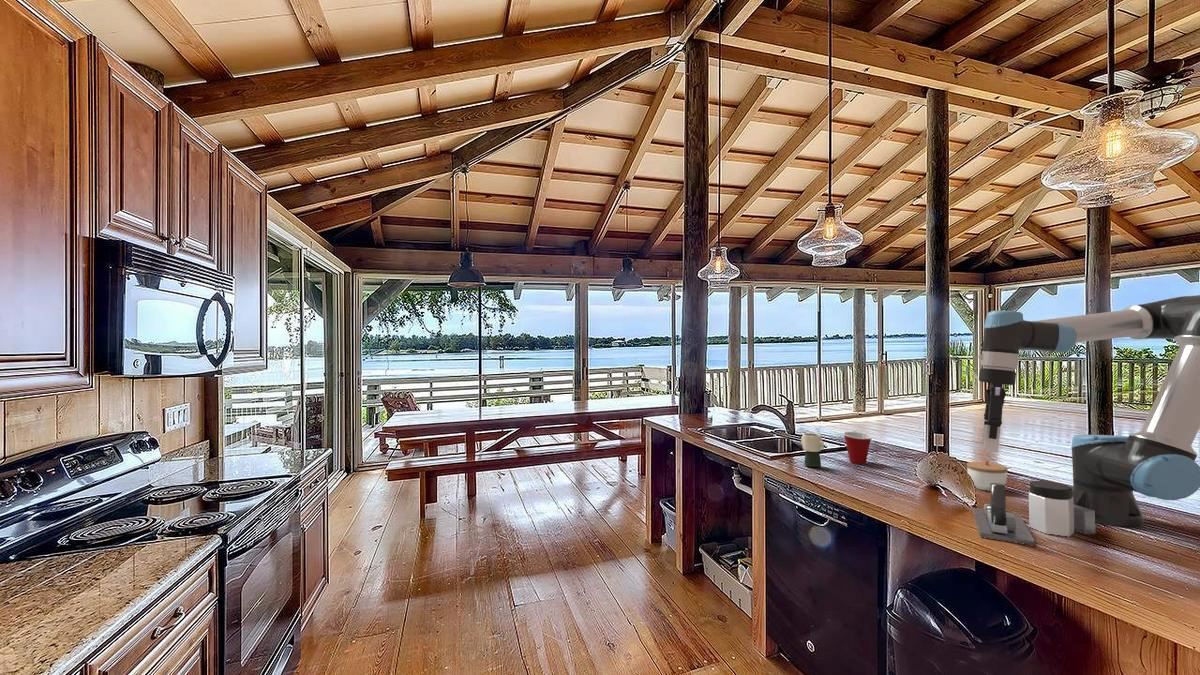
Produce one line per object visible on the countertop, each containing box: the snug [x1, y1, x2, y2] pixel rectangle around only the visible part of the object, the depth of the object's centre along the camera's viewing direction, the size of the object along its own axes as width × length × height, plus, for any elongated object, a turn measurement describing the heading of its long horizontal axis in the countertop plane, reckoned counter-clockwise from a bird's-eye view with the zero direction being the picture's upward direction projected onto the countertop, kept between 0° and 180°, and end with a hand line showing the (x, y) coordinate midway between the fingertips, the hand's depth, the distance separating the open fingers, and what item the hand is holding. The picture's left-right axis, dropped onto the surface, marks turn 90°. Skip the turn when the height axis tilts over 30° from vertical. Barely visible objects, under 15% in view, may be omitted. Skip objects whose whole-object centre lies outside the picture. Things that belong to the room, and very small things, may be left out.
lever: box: [983, 483, 1016, 534], centre depth 128 cm, size 18×5×12 cm, turn 146°
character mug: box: [800, 432, 825, 468], centre depth 192 cm, size 11×7×13 cm, turn 24°
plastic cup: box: [842, 431, 873, 465], centre depth 196 cm, size 11×11×12 cm
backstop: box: [1074, 505, 1096, 535], centre depth 127 cm, size 3×8×6 cm, turn 8°
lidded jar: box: [966, 460, 1008, 492], centre depth 161 cm, size 11×11×9 cm
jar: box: [1028, 480, 1075, 538], centre depth 126 cm, size 9×8×12 cm
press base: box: [972, 507, 1036, 547], centre depth 128 cm, size 10×22×1 cm, turn 146°
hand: (989, 447), depth 127 cm, fingers open, 13 cm apart
